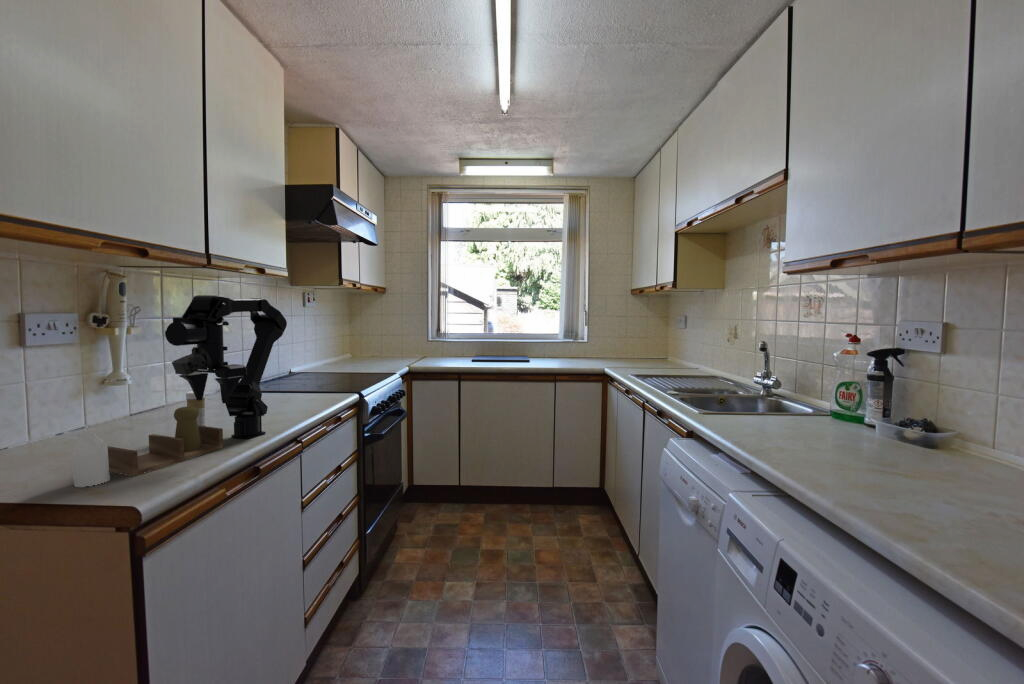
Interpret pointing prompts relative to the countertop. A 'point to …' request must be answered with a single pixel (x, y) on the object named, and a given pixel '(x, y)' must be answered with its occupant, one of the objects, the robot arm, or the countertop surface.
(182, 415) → the olive bottle gourd
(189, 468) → the countertop surface
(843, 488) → the countertop surface
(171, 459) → the rack
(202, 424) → the sprinkles bottle
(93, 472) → the grey pointed block
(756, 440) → the countertop surface
